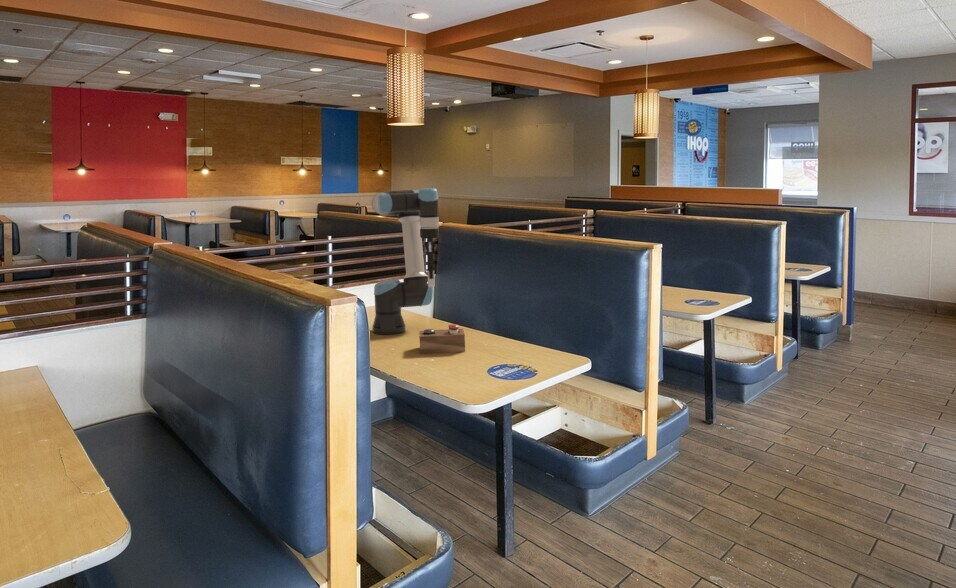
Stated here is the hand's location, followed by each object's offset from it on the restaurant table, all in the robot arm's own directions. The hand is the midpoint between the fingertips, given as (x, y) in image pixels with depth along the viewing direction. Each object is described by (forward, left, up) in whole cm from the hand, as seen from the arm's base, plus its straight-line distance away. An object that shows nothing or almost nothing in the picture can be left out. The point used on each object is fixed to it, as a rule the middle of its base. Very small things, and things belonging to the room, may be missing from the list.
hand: (431, 286), depth 263 cm
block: (+2, +3, -26) cm, 26 cm away
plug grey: (+2, -2, -25) cm, 25 cm away
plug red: (+2, +8, -24) cm, 25 cm away
